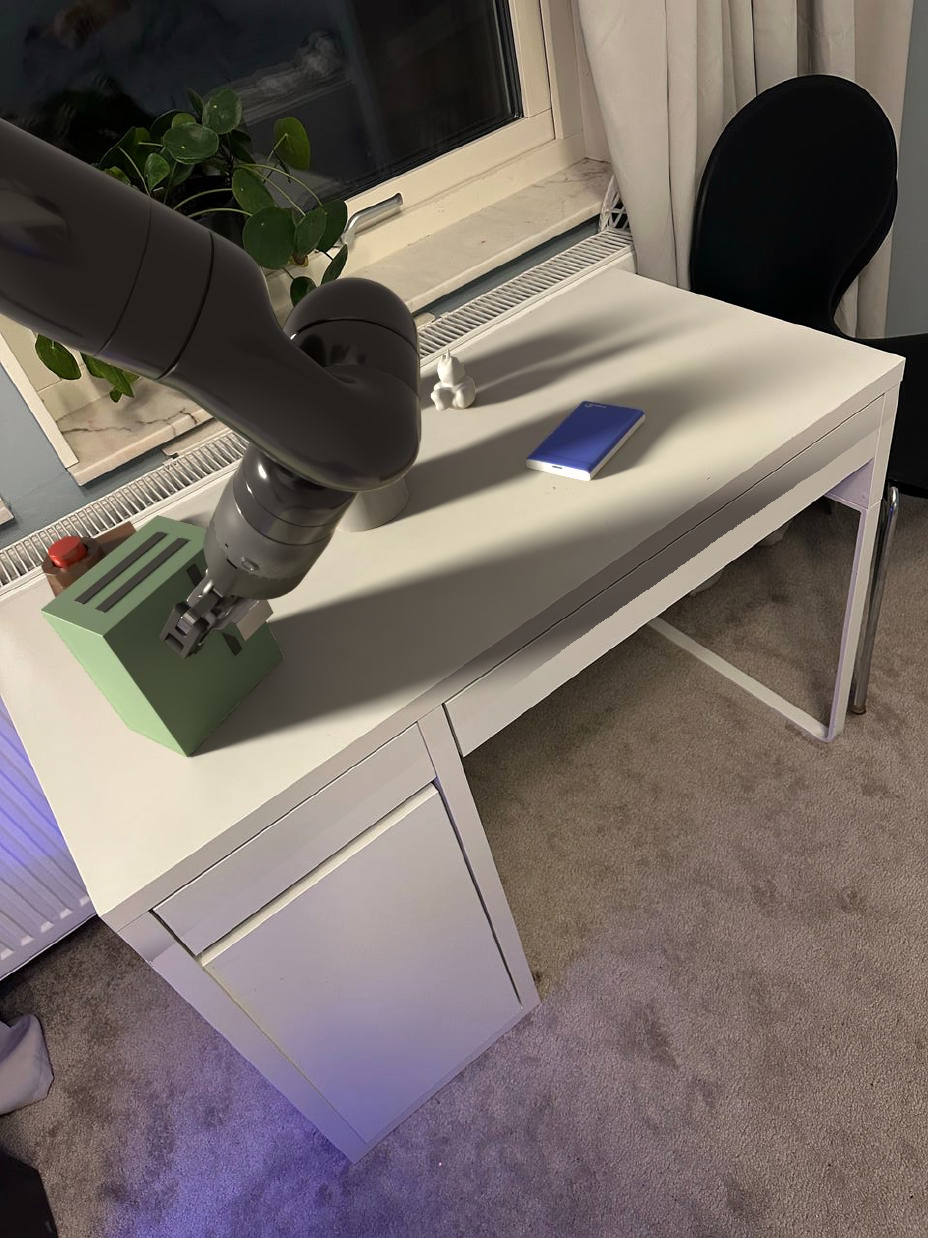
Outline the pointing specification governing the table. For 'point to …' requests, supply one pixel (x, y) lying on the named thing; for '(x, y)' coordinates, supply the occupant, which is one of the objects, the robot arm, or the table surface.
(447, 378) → the white seated figurine
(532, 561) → the table surface
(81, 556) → the power button
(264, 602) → the toaster lever
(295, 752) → the table surface
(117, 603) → the toaster
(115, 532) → the switch block
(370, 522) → the coffee mug
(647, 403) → the table surface
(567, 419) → the hard drive
